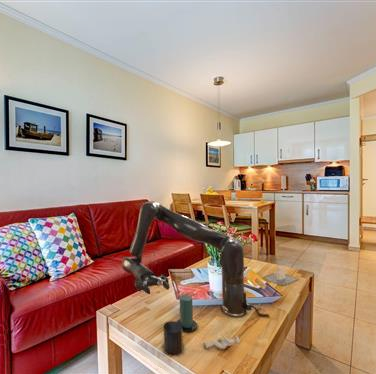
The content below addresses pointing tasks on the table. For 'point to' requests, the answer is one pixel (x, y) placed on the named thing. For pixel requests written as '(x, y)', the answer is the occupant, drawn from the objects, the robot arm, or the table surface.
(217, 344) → the soldier figure
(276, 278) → the architectural model
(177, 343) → the black cylinder
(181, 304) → the green post with base
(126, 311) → the table surface
